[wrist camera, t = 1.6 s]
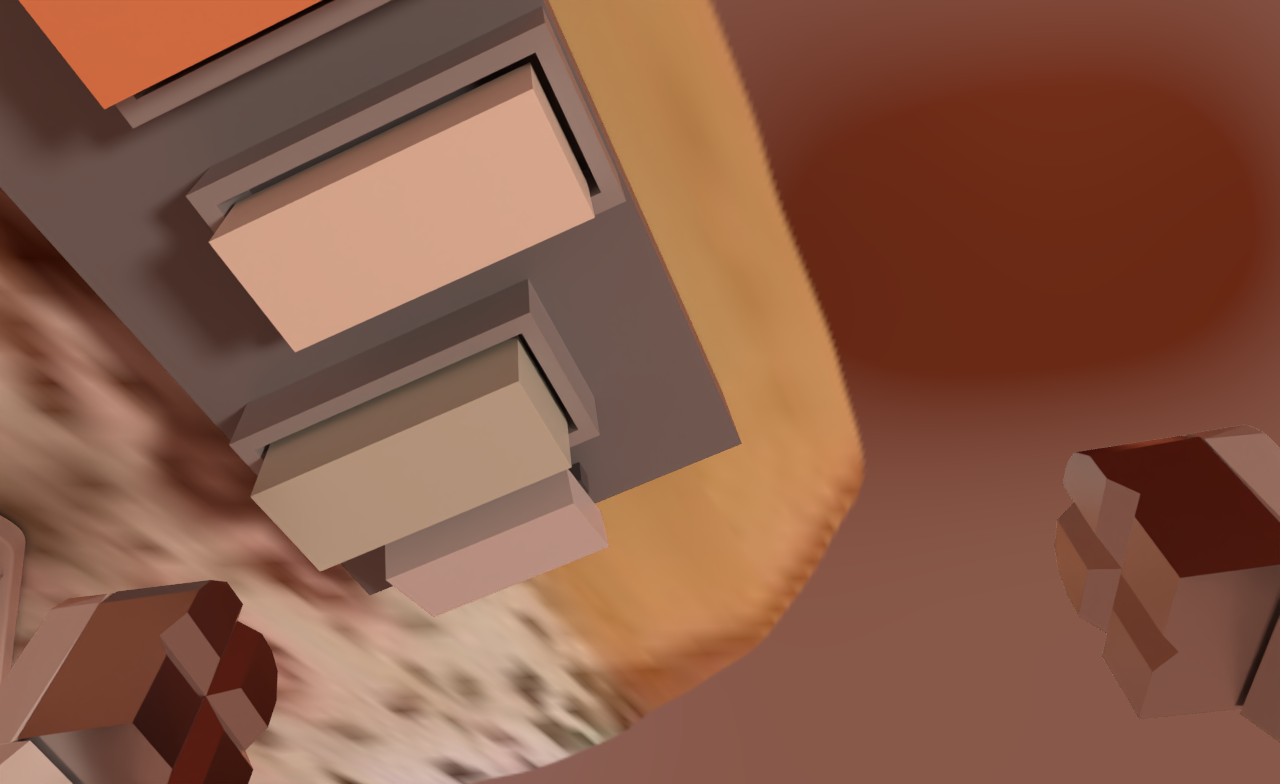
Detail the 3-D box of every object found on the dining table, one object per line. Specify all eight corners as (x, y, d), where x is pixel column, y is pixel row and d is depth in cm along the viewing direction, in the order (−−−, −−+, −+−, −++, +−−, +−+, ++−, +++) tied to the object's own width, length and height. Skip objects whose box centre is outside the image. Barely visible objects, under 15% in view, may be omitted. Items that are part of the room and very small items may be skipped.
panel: (722, 392, 40) (756, 482, 35) (380, 534, 42) (361, 640, 37) (398, -336, 25) (368, -379, 19) (-116, -55, 27) (-275, -23, 21)
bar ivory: (586, 181, 28) (594, 217, 25) (313, 306, 29) (295, 352, 26) (530, 62, 25) (532, 88, 23) (236, 202, 27) (208, 241, 24)
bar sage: (566, 417, 32) (571, 467, 30) (333, 516, 34) (320, 571, 31) (517, 334, 30) (518, 381, 28) (270, 443, 31) (249, 496, 29)
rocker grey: (600, 511, 36) (608, 546, 35) (431, 579, 37) (433, 617, 36) (566, 466, 34) (573, 503, 32) (384, 541, 35) (385, 580, 33)
